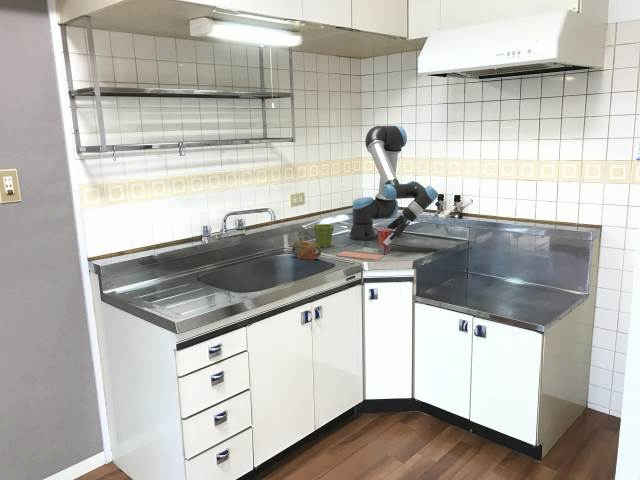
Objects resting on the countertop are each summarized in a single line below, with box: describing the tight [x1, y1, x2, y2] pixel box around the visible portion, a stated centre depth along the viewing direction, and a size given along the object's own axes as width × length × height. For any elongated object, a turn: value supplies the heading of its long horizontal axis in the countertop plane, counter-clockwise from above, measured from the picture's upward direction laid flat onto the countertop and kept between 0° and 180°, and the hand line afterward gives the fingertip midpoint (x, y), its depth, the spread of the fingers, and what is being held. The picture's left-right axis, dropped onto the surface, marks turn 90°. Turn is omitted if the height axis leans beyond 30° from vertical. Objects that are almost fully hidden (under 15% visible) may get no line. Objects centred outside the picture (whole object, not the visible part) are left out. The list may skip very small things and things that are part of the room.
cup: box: [374, 227, 394, 254], centre depth 269 cm, size 9×8×12 cm
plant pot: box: [312, 223, 335, 248], centre depth 284 cm, size 12×12×11 cm
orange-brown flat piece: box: [291, 240, 322, 261], centre depth 257 cm, size 15×3×8 cm, turn 62°
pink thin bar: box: [346, 250, 388, 256], centre depth 267 cm, size 2×22×1 cm, turn 64°
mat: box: [335, 250, 386, 261], centre depth 261 cm, size 10×22×1 cm, turn 64°
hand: (382, 241), depth 268 cm, fingers open, 13 cm apart
